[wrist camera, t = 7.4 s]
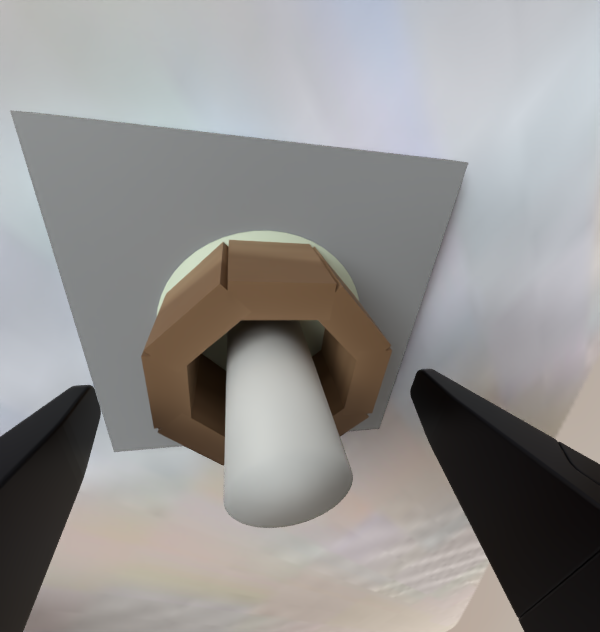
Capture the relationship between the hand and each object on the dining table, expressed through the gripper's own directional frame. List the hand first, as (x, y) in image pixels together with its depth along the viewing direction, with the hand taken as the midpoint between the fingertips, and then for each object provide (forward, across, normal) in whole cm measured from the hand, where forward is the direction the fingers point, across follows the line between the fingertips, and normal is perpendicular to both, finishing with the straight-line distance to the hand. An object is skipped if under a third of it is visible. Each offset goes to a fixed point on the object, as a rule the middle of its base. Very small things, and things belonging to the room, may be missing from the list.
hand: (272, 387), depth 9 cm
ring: (+3, 0, 0) cm, 3 cm away
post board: (+4, 0, 0) cm, 4 cm away
